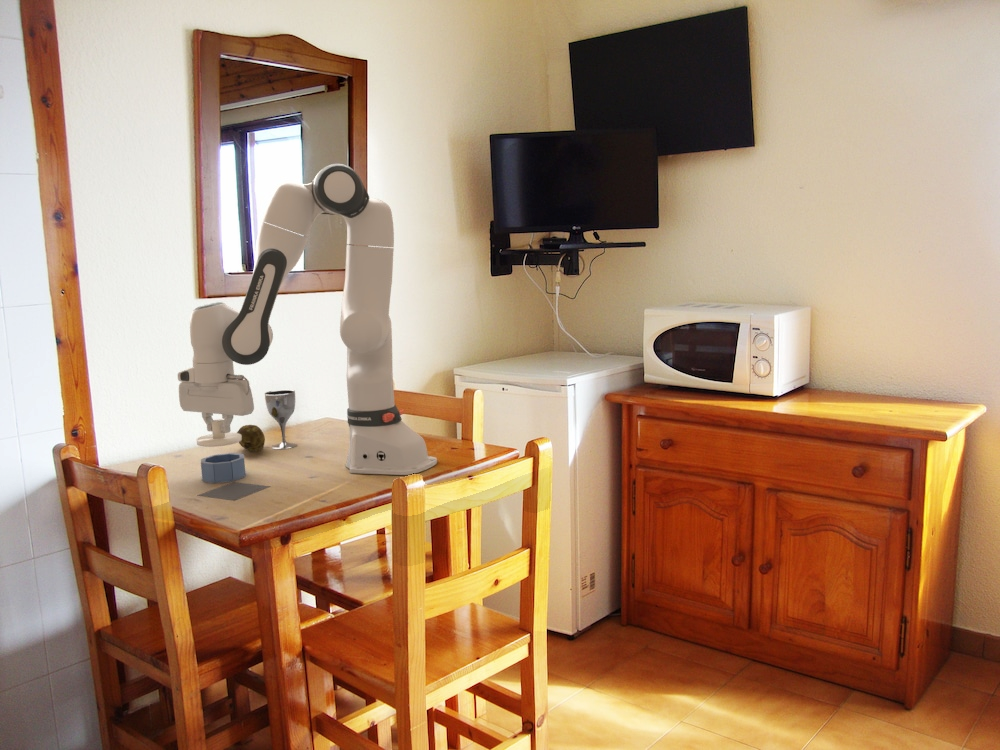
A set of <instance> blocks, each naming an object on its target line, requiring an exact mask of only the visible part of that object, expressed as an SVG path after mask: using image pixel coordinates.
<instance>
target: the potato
mask: <svg viewBox="0 0 1000 750" xmlns="http://www.w3.org/2000/svg"><path fill="white" fill-rule="evenodd" d="M236 433H239V434H241V435H242V440H241V441H240V442H238V444H239V445H240V447H242V448H244V449H245V450H246V451H249V452H259V451H261V450H262V449H263V448H264V446H265V442H266V437H265V434H264V432H263V431H262V429H261V428H260V427H259V426H258V425H255V424H245V425H242V426H241V427H240V428H239V429H238V430H237V431H236Z"/></svg>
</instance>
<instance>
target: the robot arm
mask: <svg viewBox="0 0 1000 750" xmlns="http://www.w3.org/2000/svg"><path fill="white" fill-rule="evenodd" d="M274 189H275V190H274V191H273V193H272V195H271V196H270V199H269V201H268V203H267V205H266V207H265V210H264V212H263V215H262V218H261V221H260V225H259V228H258V231H257V238H256V241H255V249H254V251H255V252H254V264H253V269H252V270H253V271H252V276H251V279H250V283H249V285H248V287H247V290H246V295H245V297H244V300H243V303H242V305H241V308H240V310H237V309H234V308H233V307H231V306H228V305H227V304H226V303H224V302H223V301H222V302H221V301H220V302H219V301H217V302H213V303H207V304H204V305H200V306H197V307H196V308H195V309H193V310H192V312H191V314H190V318H189V319H190V321H189V334H190V335H189V336H190V345H191V347H192V349H193V357H192V367H189V368H187V369H184V370H180V371H179V372H178V373H177V380H178V382H180V383H179V385H178V398H179V406H180V408H181V409H182V410H183V412H190V413H201V417H202V419H203V421H204V423H205V424H206V431H207V432H211V433H212V422H211V421H213V420H214V418H213V416H214V414H215V415H217V414H218V415H221V416H222V417H221V419H222V420H224V422H223V425H220V429H221V430H220V432H221V433H231V425H232V423H233V420H234V416H238V417H239V416H241V417H244V416H248V415H251V414H253V412H254V410H255V403H254V398H253V393H252V389H251V385H250V381H249V380H248V379H247V378H246V376H244V375H243V374H235V369H234V362H235V363H236V364H239V365H245V366H251V365H254V364H257V363H258V362H260V361H262V360H263V359H264V358H265V357H266V356H267V354H268V352H269V349H270V347H271V344H272V342H273V339H274V336H273V335H274V334H273V329H272V327H271V325H270V324H269V323H270V317H271V315H272V311H273V308H274V305H275V302H276V299H277V297H278V293H279V291H280V289H281V286H282V284H283V282H284V281H285V279H286V277H288V275H289V274H290V273H291V271H292V270H293V269H294V268H295V267H296V265H297V264H298V262H299V261H300V259H301V257H302V255H303V253H304V251H305V248H306V246H307V243H308V240H309V237H310V234H311V231H312V228H313V224H314V223H315V221H316V219H317V218H318V216H319V215H330V216H332V215H336V216H339V215H340V216H341V217H342V218H343V220H344V221H345V224H346V231H347V233H346V250H345V251H346V252H345V273H344V274H345V276H344V284H343V290H342V291H343V293H342V302H341V311H340V321H339V325H340V326H339V335H340V338H341V341H342V342H343V344H344V345H345V346H346V387H347V390H346V391H347V400H348V401H347V402H348V408H347V410H346V414H347V416H346V417H347V424H348V428H349V443H348V444H349V445H348V452H347V458H346V459H347V460H346V464H345V466H346V468H347V469H349V473H350V474H364V475H365V474H366V475H369V474H370V475H391V476H393V475H395V476H410V475H414V474H418V473H421V472H424V471H427V470H429V469H431V468H433V467H434V466H436V465H437V464H438V459H437V457H436V456H431V455H428V448H427V445H426V441H425V439H424V438H423V437H422V436H421V435H420V434H418V433H417V432H416V431H415V430H414V429H412V428H411V427H410V426H409V425H407V424H406V423H405V422H404V421H402V416H403V415H405V413H406V412H404V411H405V408H403V409H401V410H399V409H398V407H397V406H396V404H395V393H394V390H395V389H394V379H393V378H394V373H393V332H392V331H393V330H392V321H391V318H390V303H391V293H392V285H393V284H392V283H393V272H394V271H393V269H394V268H393V267H394V251H395V250H394V249H395V247H394V246H395V245H394V244H395V232H394V231H395V229H394V221H393V218H394V217H393V212H392V209H391V207H390V206H389V205H388V204H387V203H386V202H385V201H383V200H380V199H379V198H373V197H370V195H369V193H368V191H367V189H366V188H365V185H364V182H363V180H362V179H361V177H360V175H359V174H358V173H357V171H356V170H354V169H353V168H352V167H351V166H349V165H345V164H343V163H332V164H329V165H326V166H325V167H323V168H322V169H321V170H319V172H317V173H316V175H315V177H314V179H312V180H311V181H310V182H309V183H301V182H299V181H293V180H287V181H283V182H281V183H279V184H278V185H277V186H276V187H275V188H274ZM413 473H414V474H413Z"/></svg>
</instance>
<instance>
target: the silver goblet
mask: <svg viewBox="0 0 1000 750" xmlns="http://www.w3.org/2000/svg"><path fill="white" fill-rule="evenodd" d="M264 401H265V405H266V409H267V412H268V414H269V415H270V416H271V417H272V418H273V420H275V421H276V422H277V423H278V425H279V427H280V431H281V438H282V439H281V442H280V443H276V444H273V445H272V446H271V447H270V448H271V449H272V450H287V449H291V448H292V449H294V448H295V447H297V446H298V445H299V444H298V443H296V442H289V441H287V440H286V425H287V422H288V421H289V419H291V417H292V415H293V413H294V412H295V409H296V391H295V390H294V389H278V390H277V389H276V390H271V391H266V392H264Z"/></svg>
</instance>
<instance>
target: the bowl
mask: <svg viewBox="0 0 1000 750" xmlns="http://www.w3.org/2000/svg"><path fill="white" fill-rule="evenodd" d="M245 463H246V462H245V454H244V453H237V452H236V453H235V452H234V453H233V452H229V453H219V454H218V453H217V454H212V455H209V456H206V457H203V458H201V459H200V467H201V468H200V469H201V480H202V481H203V482H205V483H209V484H219V483H220V484H221V483H229V482H230V483H231V482H236V481H237V480H240V479H243V478H245V477H246V474H247V473H246V464H245Z"/></svg>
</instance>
